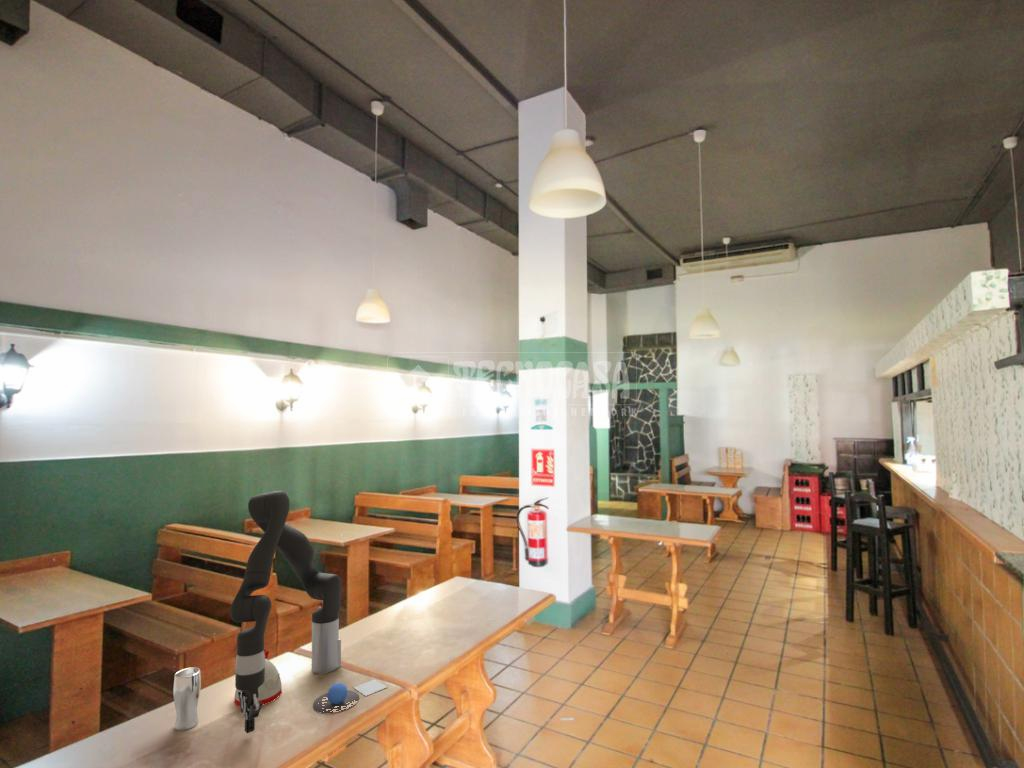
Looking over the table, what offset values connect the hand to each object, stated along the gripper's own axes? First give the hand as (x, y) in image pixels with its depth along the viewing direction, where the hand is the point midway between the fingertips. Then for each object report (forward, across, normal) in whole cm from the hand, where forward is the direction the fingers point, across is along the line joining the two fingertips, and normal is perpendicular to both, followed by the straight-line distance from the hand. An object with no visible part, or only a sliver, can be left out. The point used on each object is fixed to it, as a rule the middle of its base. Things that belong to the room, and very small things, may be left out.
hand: (249, 731), depth 151 cm
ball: (-2, -1, -26) cm, 26 cm away
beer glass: (+2, +20, +11) cm, 23 cm away
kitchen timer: (+2, +22, -10) cm, 24 cm away
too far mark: (+2, 0, -38) cm, 38 cm away
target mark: (+2, 0, -26) cm, 26 cm away
